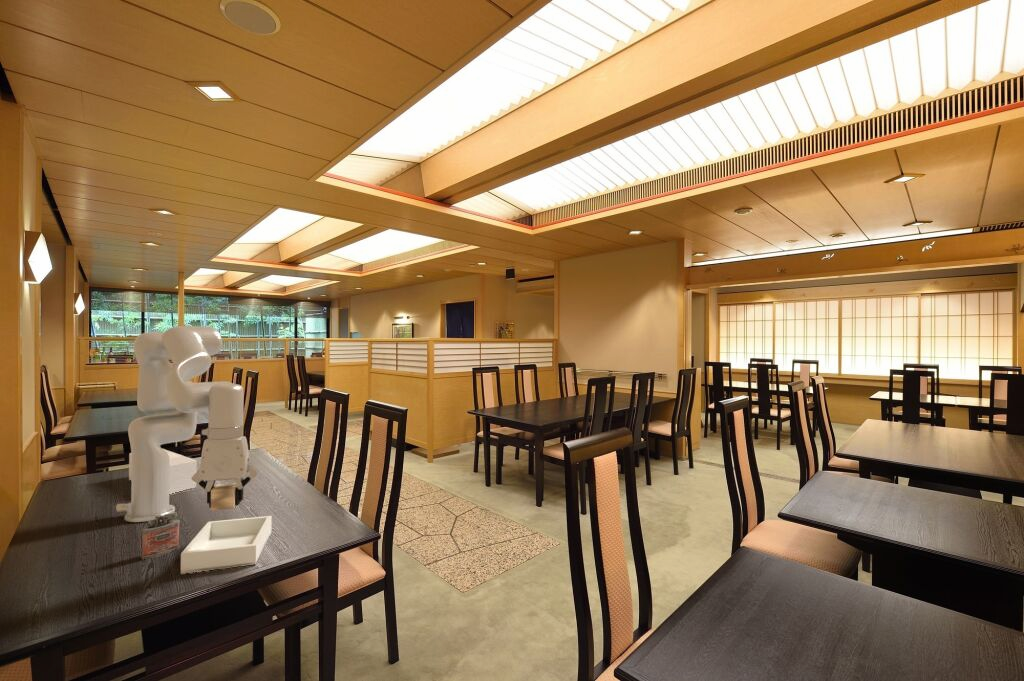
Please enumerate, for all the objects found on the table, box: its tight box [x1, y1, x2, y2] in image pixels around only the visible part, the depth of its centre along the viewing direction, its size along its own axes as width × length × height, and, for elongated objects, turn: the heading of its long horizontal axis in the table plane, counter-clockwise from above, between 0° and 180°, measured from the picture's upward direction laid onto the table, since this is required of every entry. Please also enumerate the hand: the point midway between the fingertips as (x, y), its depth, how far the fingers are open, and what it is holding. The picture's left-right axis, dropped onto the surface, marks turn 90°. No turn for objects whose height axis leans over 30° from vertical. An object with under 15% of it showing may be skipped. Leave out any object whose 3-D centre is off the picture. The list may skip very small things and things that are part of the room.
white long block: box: [128, 448, 198, 495], centre depth 176 cm, size 32×11×11 cm, turn 57°
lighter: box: [141, 511, 181, 560], centre depth 120 cm, size 8×3×10 cm, turn 143°
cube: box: [210, 482, 237, 512], centre depth 116 cm, size 5×5×5 cm
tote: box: [180, 515, 273, 575], centre depth 121 cm, size 16×20×5 cm
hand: (225, 504), depth 116 cm, fingers closed on cube, 5 cm apart
